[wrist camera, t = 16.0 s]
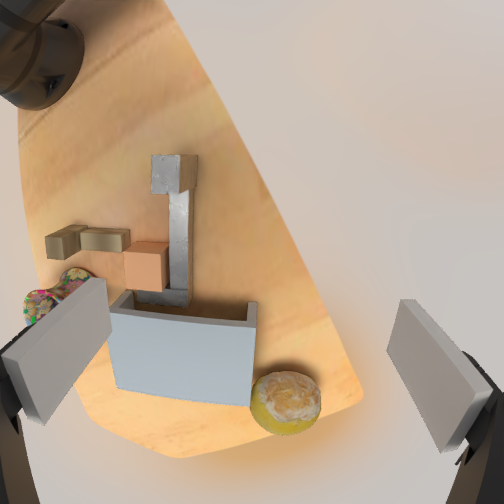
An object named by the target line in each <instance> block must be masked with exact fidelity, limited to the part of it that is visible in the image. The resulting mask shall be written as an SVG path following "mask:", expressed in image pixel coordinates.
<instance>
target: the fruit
mask: <svg viewBox="0 0 504 504" xmlns="http://www.w3.org/2000/svg"><path fill="white" fill-rule="evenodd" d="M250 411H251V413H252V415H253V417H254V419H255V420H256V422H257V423H258V424H259V425H260V426H261V427H263V428H264V429H265V430H267V431H269V432H270V433H273V434H278V435H292V434H296V433H300V432H302V431H304V430H306V429H307V428H309V427H310V426H312V425H313V424H314V422H315V421H316V420H317V418H318V417H319V414H320V411H321V396H320V390H319V389H318V386H317V384H316V383H315V382H314V381H313V380H312V379H311V378H310V377H308V376H306V375H304V374H300V373H298V372H292V371H282V372H273V373H270V374H269V375H265V376H262V377H261V378H259V379H258V380H257V381H256V382H255V384H254V385H253V387H252V390H251V398H250Z"/></svg>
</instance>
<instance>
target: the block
mask: <svg viewBox="0 0 504 504" xmlns="http://www.w3.org/2000/svg"><path fill="white" fill-rule="evenodd" d="M123 255H124V269H125V282H126V288H127V289H136V290H145V291H155V292H162V291H163V290H164V288H165V287H166V286H167V284H168V283H169V281H170V258H169V243H157V242H142V241H137V242H135V243H134V244H133V245H131V246H130V247H129V248H127V249H126V250H125V251H123Z"/></svg>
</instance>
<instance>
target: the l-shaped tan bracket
mask: <svg viewBox="0 0 504 504" xmlns="http://www.w3.org/2000/svg"><path fill="white" fill-rule="evenodd" d="M45 244H46V252H47V259H56V260H65V259H67V258H69V257H70V256H72V255H74V254H75V253H77V252H79V251H80V250H93V251H105V252H118V253H122V252H123V251H125V250H126V249H127V248H129V247H130V230H124V229H106V228H89V229H88V227H87V226H86V225H70V226H67V227H65V228H63V229H61V230H58V231H56V232H54V233H52V234H50V235H48V236H45Z"/></svg>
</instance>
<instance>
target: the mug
mask: <svg viewBox="0 0 504 504" xmlns="http://www.w3.org/2000/svg"><path fill="white" fill-rule="evenodd" d="M91 277H93V276H92V275H91V274H90V273H88V272H87V271H85V270H82V269H79V268H72V269H69V270H67V271H65V272H64V273H63V274H62V276H61V278H60V281H59V283H58V284H57V285H56V286H54V287H52V288H50V289H46V290H34V291H32V292H30V293H29V294H28V295H27V296H26V298H25V301H24V305H23V311H24V312H23V313H24V318H25V321H26V324H27V325H28V326H29V325H32V324H34V323H36V322H38V321H39V320H41V319H42V318H43V317H44V316H45V315H46V314H48V313H49V312H50V311H51V310H52V309H53V308H55V307H56V306H57V305H58V304H59V303H61V302H62V301H63V300H64V299H65V298H66V297H68V296H69V295H70V294H71V293H73V292H74V291H75V290H76V289H77V288H79V287H80V286H81V285H82V284H84V283H85V282H86V281H87V280H89V279H90V278H91Z"/></svg>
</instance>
